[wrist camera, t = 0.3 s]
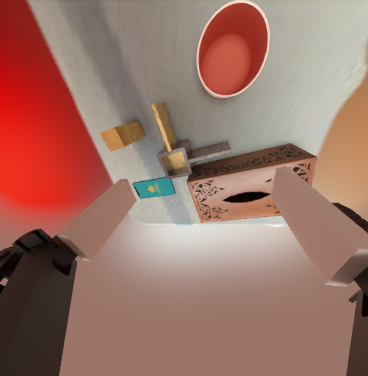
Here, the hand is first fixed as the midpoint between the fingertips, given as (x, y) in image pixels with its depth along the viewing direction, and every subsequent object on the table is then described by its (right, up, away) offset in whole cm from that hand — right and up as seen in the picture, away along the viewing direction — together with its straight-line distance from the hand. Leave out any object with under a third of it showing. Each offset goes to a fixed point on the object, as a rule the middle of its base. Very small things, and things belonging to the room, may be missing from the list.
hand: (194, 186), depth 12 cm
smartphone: (-12, 0, +36) cm, 38 cm away
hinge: (+1, +15, +23) cm, 27 cm away
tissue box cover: (+16, +3, +28) cm, 32 cm away
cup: (+8, +25, +15) cm, 30 cm away
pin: (-14, +16, +25) cm, 33 cm away
